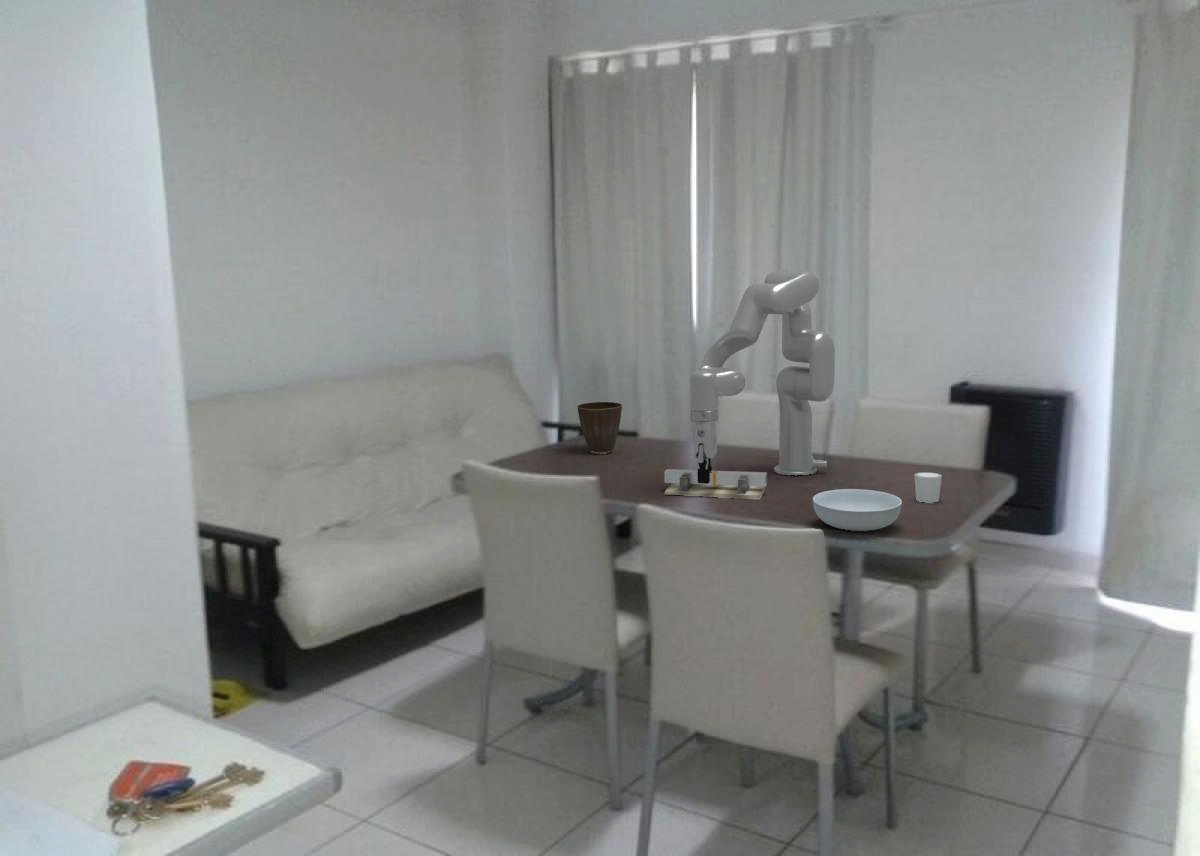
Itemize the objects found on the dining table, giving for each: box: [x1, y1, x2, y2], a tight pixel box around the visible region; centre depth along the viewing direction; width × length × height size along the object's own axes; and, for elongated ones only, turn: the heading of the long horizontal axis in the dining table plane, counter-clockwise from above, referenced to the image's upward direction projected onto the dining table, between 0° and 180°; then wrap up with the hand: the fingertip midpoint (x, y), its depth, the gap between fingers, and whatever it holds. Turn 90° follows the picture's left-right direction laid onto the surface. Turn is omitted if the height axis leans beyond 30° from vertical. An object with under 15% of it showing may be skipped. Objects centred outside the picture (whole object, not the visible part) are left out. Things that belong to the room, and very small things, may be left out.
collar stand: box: [664, 475, 766, 501], centre depth 284 cm, size 26×12×5 cm, turn 74°
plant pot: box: [576, 401, 623, 452], centre depth 343 cm, size 15×15×16 cm
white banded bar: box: [663, 468, 768, 488], centre depth 284 cm, size 28×3×3 cm, turn 74°
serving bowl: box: [812, 488, 903, 532], centre depth 247 cm, size 21×21×7 cm
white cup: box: [914, 471, 943, 504], centre depth 270 cm, size 7×7×7 cm
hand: (704, 480), depth 285 cm, fingers closed on white banded bar, 3 cm apart
